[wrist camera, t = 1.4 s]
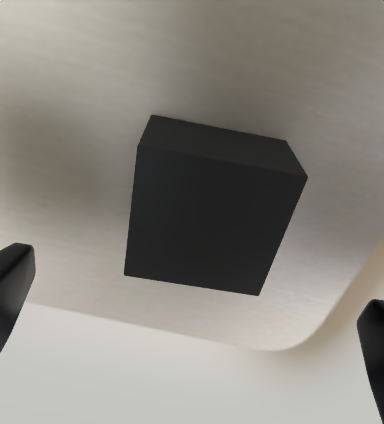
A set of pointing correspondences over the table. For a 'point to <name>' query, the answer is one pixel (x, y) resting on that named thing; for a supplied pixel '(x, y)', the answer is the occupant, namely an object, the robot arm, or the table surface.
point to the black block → (209, 205)
